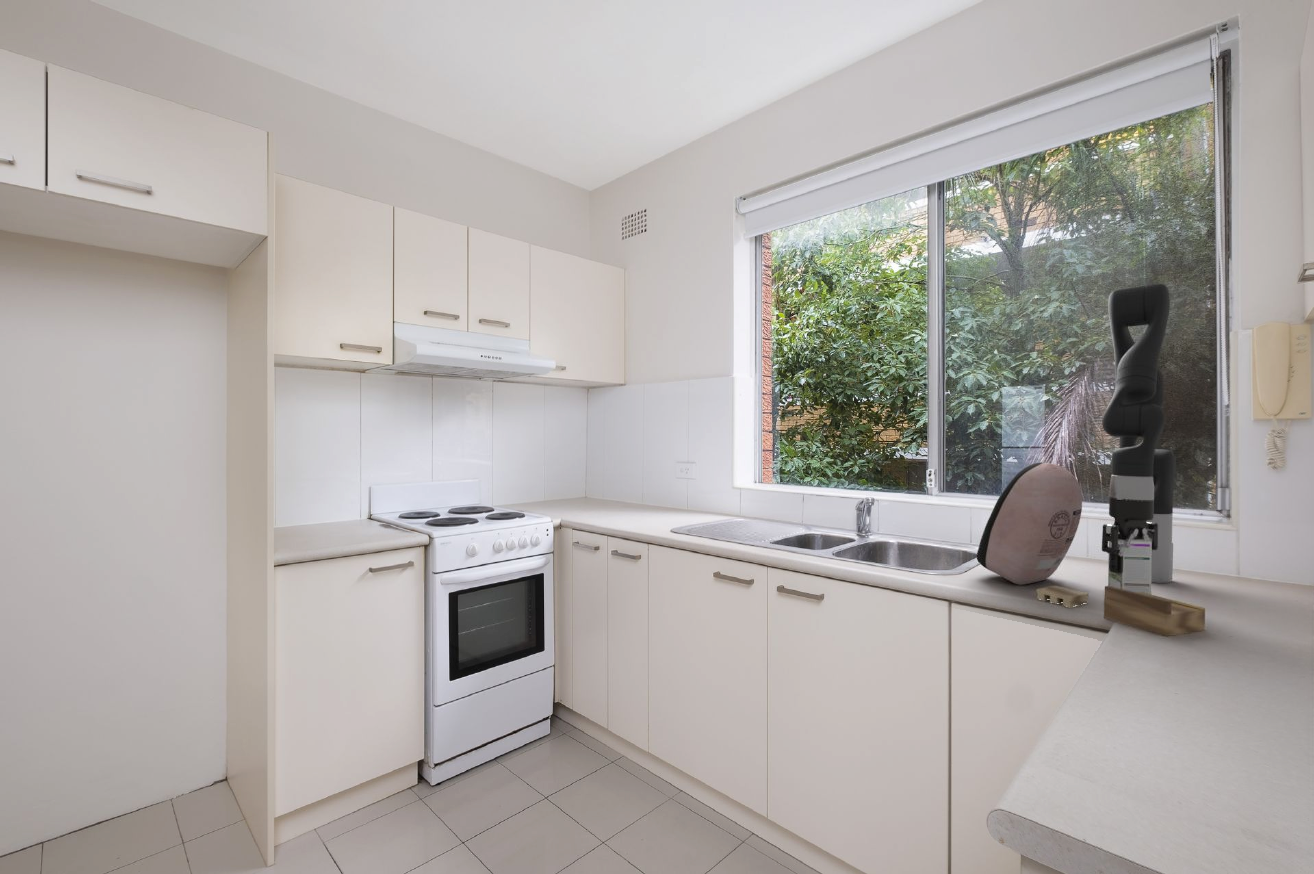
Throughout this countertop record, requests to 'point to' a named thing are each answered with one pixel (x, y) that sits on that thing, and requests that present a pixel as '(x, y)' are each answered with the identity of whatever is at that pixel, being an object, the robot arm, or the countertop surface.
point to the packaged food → (1032, 524)
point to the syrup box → (1134, 568)
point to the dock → (1152, 612)
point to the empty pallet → (1062, 596)
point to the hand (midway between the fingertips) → (1129, 571)
